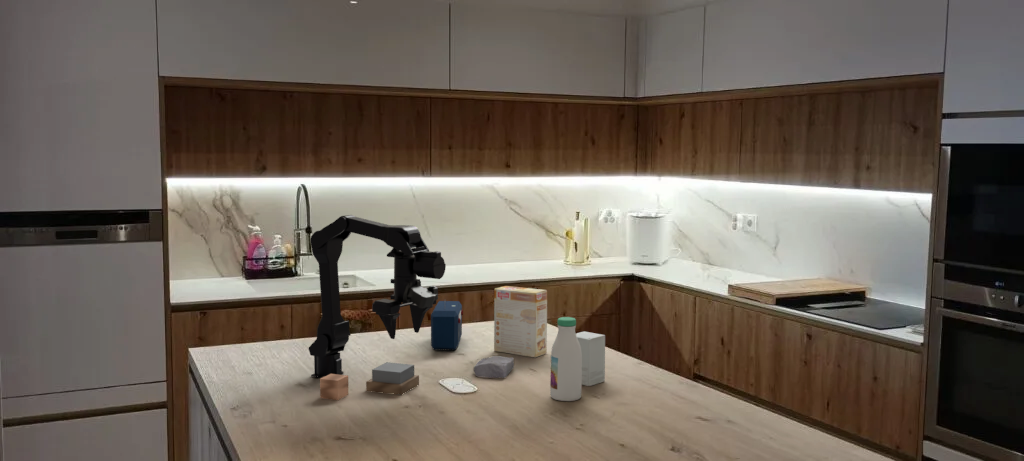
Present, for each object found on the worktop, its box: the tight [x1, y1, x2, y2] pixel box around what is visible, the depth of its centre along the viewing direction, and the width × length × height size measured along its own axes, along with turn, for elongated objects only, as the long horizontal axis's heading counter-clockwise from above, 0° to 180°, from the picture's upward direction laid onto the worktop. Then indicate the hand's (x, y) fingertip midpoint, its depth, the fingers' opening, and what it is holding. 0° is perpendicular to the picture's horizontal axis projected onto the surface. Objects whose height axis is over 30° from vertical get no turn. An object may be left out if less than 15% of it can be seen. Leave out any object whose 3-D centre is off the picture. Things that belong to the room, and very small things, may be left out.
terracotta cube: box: [319, 374, 349, 401], centre depth 212 cm, size 5×5×5 cm
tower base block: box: [365, 374, 420, 396], centre depth 220 cm, size 10×10×3 cm
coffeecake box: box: [493, 285, 548, 358], centre depth 258 cm, size 15×7×20 cm, turn 58°
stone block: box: [473, 355, 515, 379], centre depth 236 cm, size 12×5×10 cm
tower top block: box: [371, 361, 415, 384], centre depth 219 cm, size 8×8×3 cm
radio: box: [430, 300, 464, 351], centre depth 268 cm, size 21×9×20 cm, turn 179°
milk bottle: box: [549, 316, 582, 402], centre depth 211 cm, size 8×8×20 cm
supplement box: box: [575, 330, 606, 387], centre depth 226 cm, size 7×7×13 cm
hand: (404, 335), depth 218 cm, fingers open, 9 cm apart
